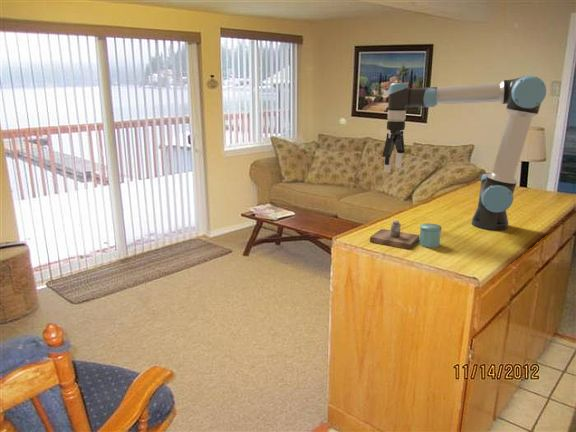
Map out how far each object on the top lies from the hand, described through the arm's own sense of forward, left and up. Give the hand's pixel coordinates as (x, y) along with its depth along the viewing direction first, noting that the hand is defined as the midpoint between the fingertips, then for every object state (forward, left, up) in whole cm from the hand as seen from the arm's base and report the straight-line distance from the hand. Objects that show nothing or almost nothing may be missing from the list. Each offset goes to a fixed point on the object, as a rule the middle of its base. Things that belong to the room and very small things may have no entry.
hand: (392, 169), depth 211 cm
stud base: (-10, +23, -24) cm, 35 cm away
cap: (-23, +20, -24) cm, 39 cm away
